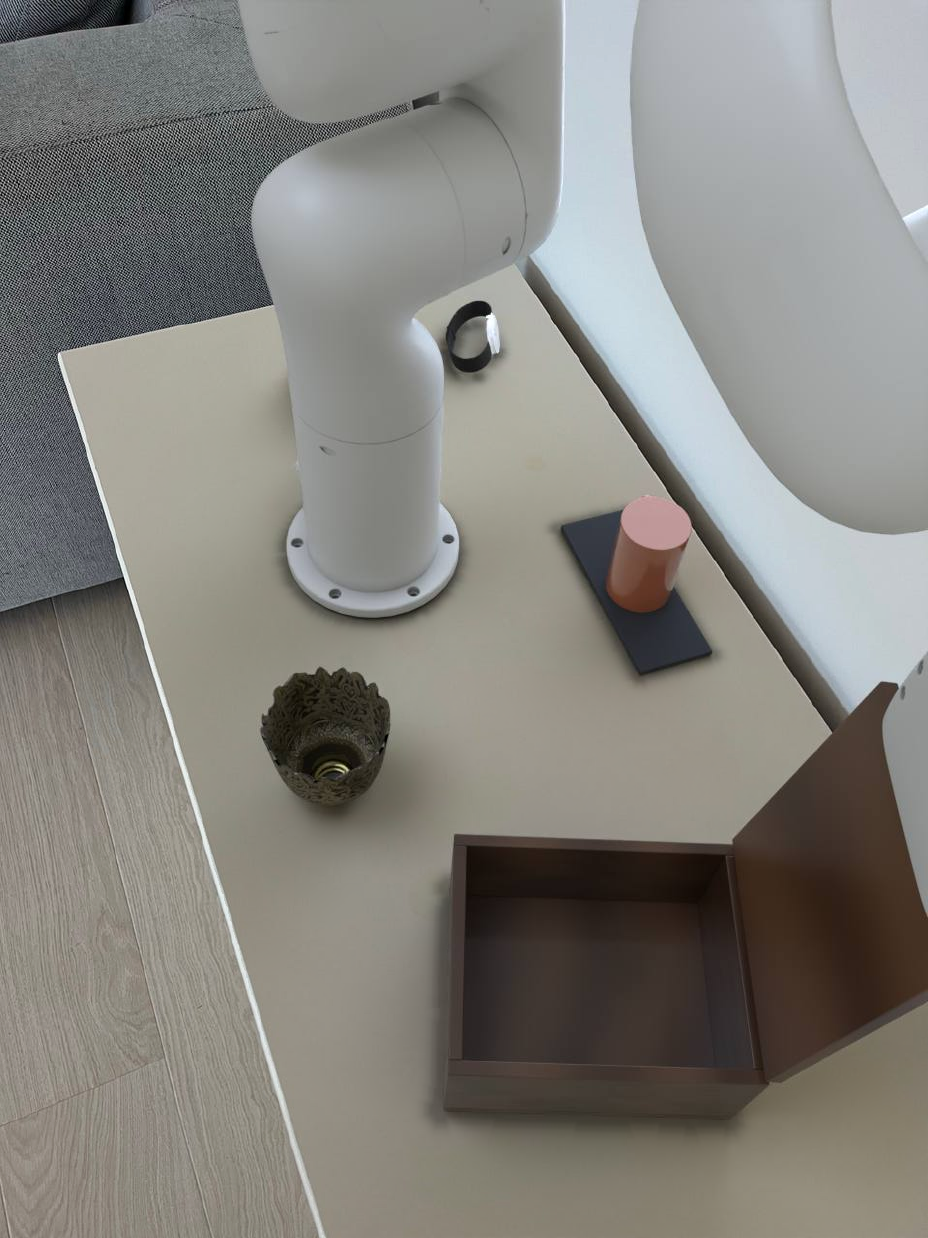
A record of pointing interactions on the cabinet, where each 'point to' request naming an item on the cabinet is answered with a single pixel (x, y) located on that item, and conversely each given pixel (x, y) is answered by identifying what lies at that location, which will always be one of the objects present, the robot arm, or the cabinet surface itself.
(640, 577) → the glossy terracotta cylinder
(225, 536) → the cabinet surface
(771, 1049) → the lid
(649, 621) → the mat
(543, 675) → the cabinet surface
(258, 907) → the cabinet surface
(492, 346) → the watch
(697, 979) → the chest
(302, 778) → the cup
